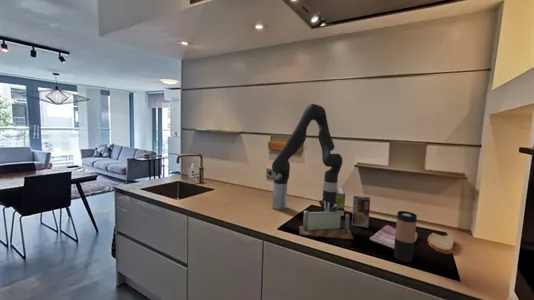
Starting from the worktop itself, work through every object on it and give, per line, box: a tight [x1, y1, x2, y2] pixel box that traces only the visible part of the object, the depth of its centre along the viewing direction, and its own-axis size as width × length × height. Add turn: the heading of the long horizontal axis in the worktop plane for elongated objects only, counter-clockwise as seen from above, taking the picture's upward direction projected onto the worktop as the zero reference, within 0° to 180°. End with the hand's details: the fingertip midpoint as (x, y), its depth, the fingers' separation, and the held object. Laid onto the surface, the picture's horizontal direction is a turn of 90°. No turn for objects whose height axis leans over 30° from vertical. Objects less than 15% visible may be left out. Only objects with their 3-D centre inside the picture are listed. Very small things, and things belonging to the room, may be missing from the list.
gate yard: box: [298, 210, 355, 240], centre depth 138 cm, size 27×10×11 cm, turn 84°
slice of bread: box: [427, 232, 456, 255], centre depth 130 cm, size 18×18×4 cm
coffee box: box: [351, 195, 371, 228], centre depth 151 cm, size 9×6×16 cm
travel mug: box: [393, 210, 418, 263], centre depth 114 cm, size 8×8×20 cm
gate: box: [308, 211, 342, 230], centre depth 141 cm, size 18×2×9 cm, turn 100°
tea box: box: [333, 187, 346, 217], centre depth 172 cm, size 15×10×15 cm
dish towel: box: [369, 224, 419, 250], centre depth 134 cm, size 17×23×4 cm
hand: (327, 219), depth 147 cm, fingers closed
